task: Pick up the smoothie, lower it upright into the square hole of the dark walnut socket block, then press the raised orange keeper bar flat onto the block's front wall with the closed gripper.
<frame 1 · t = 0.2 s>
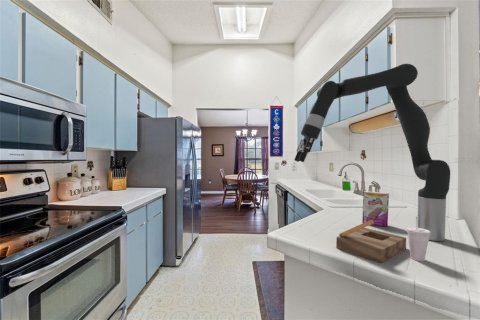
hand: (298, 161, 101), 31 cm above the table, tool tilted 20°, fingers open, 8 cm apart
smoothie: (417, 259, 77), on the table
socket block: (375, 246, 87), on the table
keeper bar: (355, 228, 82), point 8 cm above the table, hinge at 35.0°
candy bar box: (374, 224, 118), on the table
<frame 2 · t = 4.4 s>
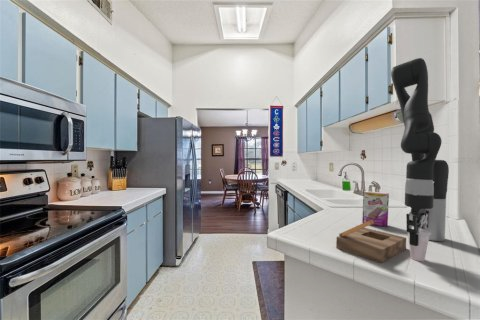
hand: (417, 243, 77), 5 cm above the table, tool pointing down, fingers closed on smoothie, 6 cm apart
smoothie: (417, 259, 77), on the table, touching gripper
everything else where it was.
when the fingers open (7 cm above the table, at t = 10.7 s): smoothie drops 1 cm, resting in socket block.
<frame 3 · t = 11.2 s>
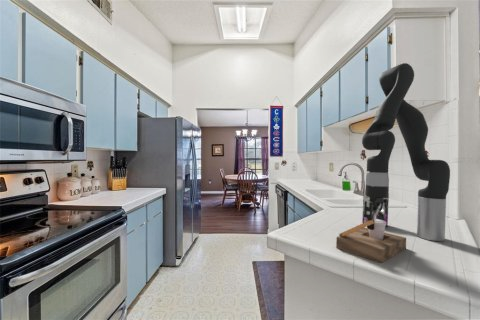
hand: (375, 227, 87), 7 cm above the table, tool pointing down, fingers open, 8 cm apart
smoothie: (375, 246, 87), resting in socket block
everything else where it was.
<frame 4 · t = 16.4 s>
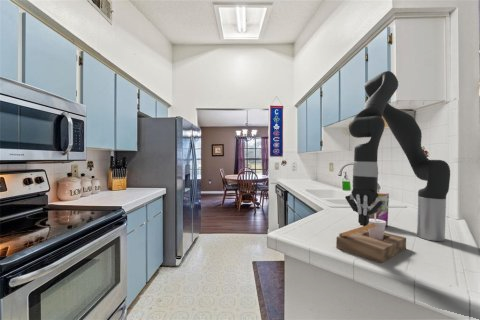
hand: (363, 225, 80), 10 cm above the table, tool pointing down, fingers closed
keeper bar: (356, 230, 82), point 8 cm above the table, hinge at 29.5°, touching gripper
everything else where it was.
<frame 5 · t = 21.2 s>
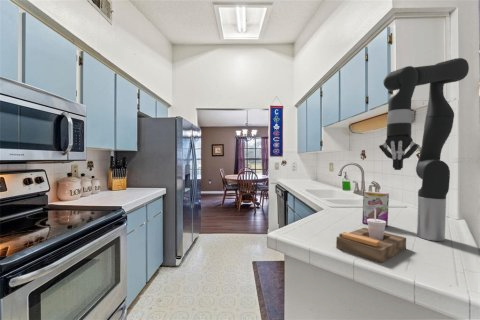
hand: (397, 169, 86), 29 cm above the table, tool pointing down, fingers closed
keeper bar: (358, 238, 81), point 5 cm above the table, hinge at 1.2°
everything else where it was.
at the end: smoothie 0.2 cm off-centre on the socket block, point 0.0 cm above the socket block's base; smoothie tilted 0°; keeper bar at +1° (first picture: +35°) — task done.
